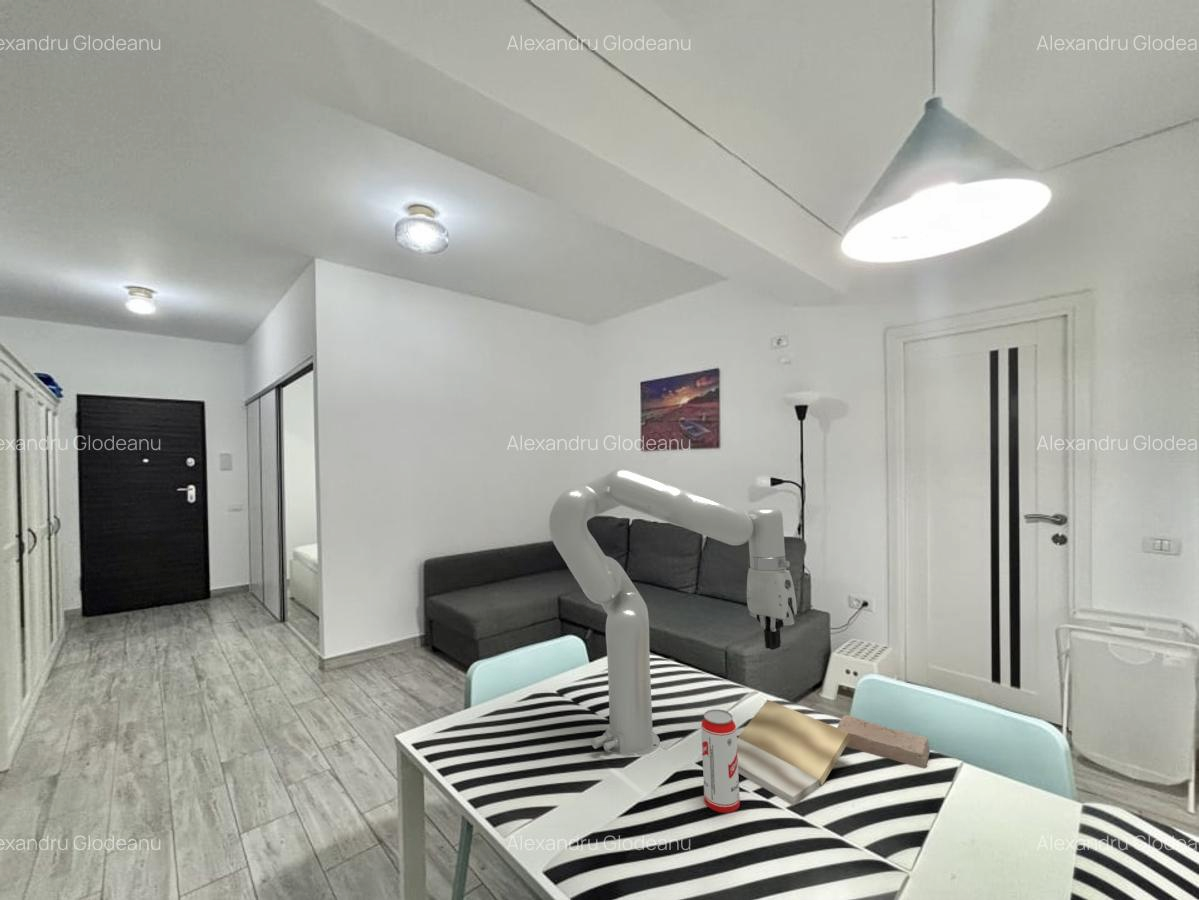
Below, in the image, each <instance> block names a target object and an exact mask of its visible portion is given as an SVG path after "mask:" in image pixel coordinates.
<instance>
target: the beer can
mask: <svg viewBox="0 0 1199 900" xmlns="http://www.w3.org/2000/svg"><path fill="white" fill-rule="evenodd" d="M700 725H701V747H702V749H701V750H702V751H701V752H702V770H703V775H702V777H703V795H704V796H703V799H704V800H703V801H704V803H705V805H706V806H707V807H708V808H709V809H711V810H713V811H715V812H718V813H723V814H728V813H732V812H735V811H737V810H738V809H739V808H740V805H741V799H740V798H741V797H740V796H741V795H740V782H739V781H740V780H739V775H740V774H739V773H738V754H737V727H736V724H735V721H734V720H733V714H731V713H730V712H728V711H726V710H723V709H719V708H717V709H709V710H707V711H705V712H704V713H703V718H702V721H701V723H700Z"/></svg>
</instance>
